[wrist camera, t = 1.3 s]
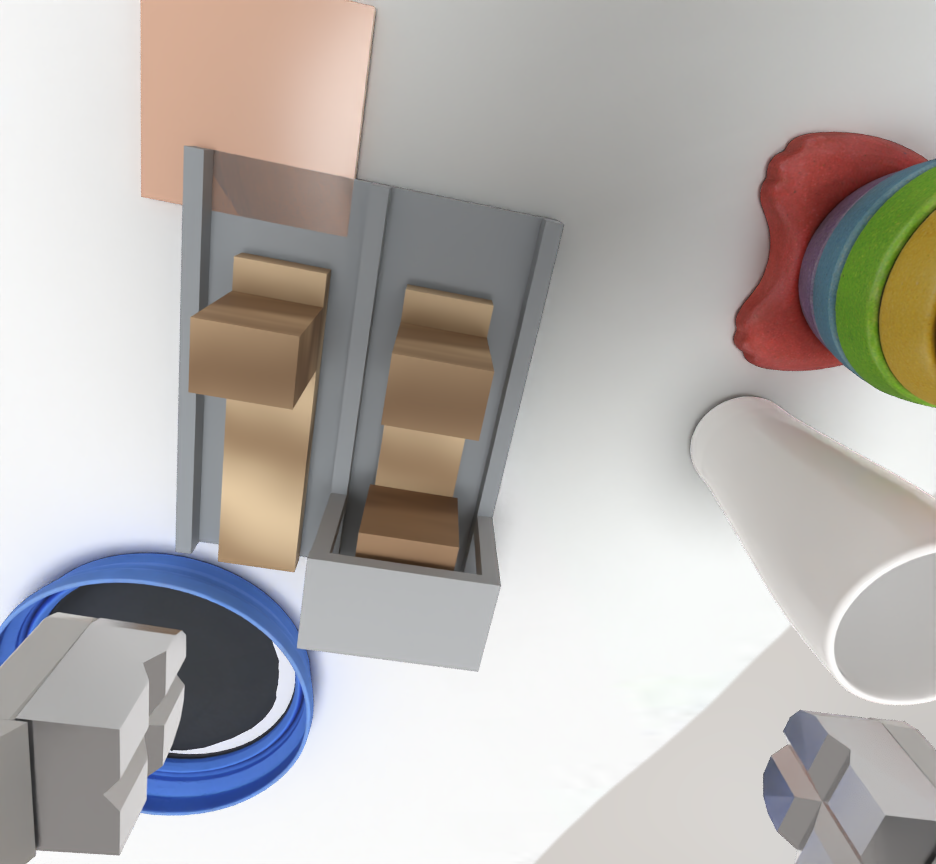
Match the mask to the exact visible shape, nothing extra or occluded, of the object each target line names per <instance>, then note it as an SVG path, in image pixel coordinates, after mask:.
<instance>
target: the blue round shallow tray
mask: <svg viewBox="0 0 936 864" xmlns="http://www.w3.org/2000/svg"><path fill="white" fill-rule="evenodd" d="M57 612H60V613H66V614H73V615H80V616H86V617H93V618H97V619H100V618H105V619H111V620H118V621H124V622H131V623H137V624H144V625H150V626H157V627H164V628H170V629H177V630H182V631H183V632H184V633H185V634H186V658H185V660H184V661H183V663H182V665H181V667H180V669H179V671H178V673H177V676H178V677H179V678H180V680H181V681H182V682H183V684H184V685H185V687H184V702H183V707H182V713H181V719H180V722H179V725H178V729H177V732H176V735H175V738H174V741H173V744H172V747H171V749H170V750H171V751H173V750H191V749H197V748H204V747H208V746H211V745H214V744H216V743H219V742H222V741H225V740H228V739H231V738H233V737H235V736H237V735H239V734H241V733H243V732H245V731H247V730H249V729H251V728H253V727H254V726H255V725H257V724H258V723H259V722H260V721H261V720H263V719H264V718H265V716H266V715H267V714H268V713H269V711H270V710H271V709H272V707H273V705H274V702H275V700H276V690H277V686H278V678H279V670H278V665H279V660H278V657H277V654H276V651H275V648H274V646H273V642H274V643H275V644H276V645H277V646H278V647H279V649H280V650H281V651H282V652H283V654H284V655H285V656H286V658H287V659H288V660H289V662H290V663H291V665H292V667H293V669H294V671H295V688H294V693H293V695H292V698H291V701H290V703H289V705H288V707H287V709H286V711H285V712H284V714H283V715H282V716H281V718H279V719H278V721H277V722H276V723H275V724H274V725H273V726H272V727H271V728H270V729H269V730H267V731H266V732H265V733H263V734H262V735H261V736H259V737H257V738H256V739H254V740H252V741H250V742H248V743H246V744H244V745H241V746H238V747H236V748H232V749H228V750H224V751H220V752H214V753H207V754H177V753H168V755H167V758H166V760H165V762H164V764H163V766H162V767H161V768H159V769H158V770H156V771H155V772H153V773H152V774H151V775H149V776H148V777H147V799H146V802H145V804H144V806H143V808H142V810H141V812H140V813H145V814H151V815H190V814H200V813H206V812H211V811H216V810H220V809H223V808H227V807H230V806H234V805H236V804H238V803H241V802H243V801H245V800H248V799H250V798H252V797H254V796H255V795H257V794H259V793H261V792H262V791H264V790H266V789H267V788H268V787H270V786H271V785H273V784H274V783H275V782H277V781H278V780H279V779H280V778H281V777H282V776H283V775H285V774H286V773H287V771H288V770H289V769H290V768H291V767H292V766H293V765H294V763H295V762H296V760H297V759H298V758H299V756H300V754H301V752H302V750H303V748H304V746H305V743H306V740H307V737H308V734H309V731H310V727H311V723H312V718H313V706H314V702H313V689H312V681H311V673H310V663H309V658H308V654H307V651H306V649H299V648H297V641H298V633H299V632H298V630H297V628H296V627H295V625H294V624H293V622H292V621H291V619H290V618H289V617H288V616H287V614H286V613H285V612H284V611H283V610H282V609H281V608H280V606H279V605H278V604H277V603H276V602H274V601H273V600H272V599H271V598H270V597H269V596H268V595H267V594H265V593H264V592H263V591H261V590H260V589H258V588H257V587H256V586H254V585H253V584H251V583H249V582H248V581H246V580H244V579H243V578H241V577H239V576H237V575H235V574H233V573H231V572H229V571H226V570H224V569H222V568H220V567H217V566H214V565H211V564H208V563H205V562H202V561H199V560H195V559H190V558H186V557H181V556H175V555H168V554H156V553H136V554H124V555H117V556H111V557H107V558H103V559H99V560H95V561H92V562H90V563H87V564H84V565H82V566H80V567H78V568H76V569H74V570H72V571H70V572H68V573H67V574H65V575H64V576H62V577H61V578H59V579H58V580H55V581H53V582H52V583H50V584H48V585H46V586H45V587H43V588H41V589H40V590H38V591H37V592H35V593H34V594H32V595H30V596H29V597H28V598H26V599H25V600H24V601H23V602H22V603H20V604H19V605H18V606H17V607H16V608H15V609H14V610H13V611H12V612H11V613H10V615H9V616H8V617H7V618H6V620H5V621H4V622H3V623H2V625H1V626H0V666H1V665H2V664H3V663H4V662H5V661H6V660H7V659H8V658H9V656H10V655H11V654H12V653H13V652H14V651H15V650H16V649H17V648H18V647H19V646H20V644H21V643H22V642H23V641H24V640H25V639H26V638H27V637H28V636H29V635H30V634H31V632H32V631H33V630H34V629H35V628H36V627H37V626H38V625H39V624H40V623H41V622H42V620H43V619H45V618H46V617H48V616H50V615H52V614H54V613H57ZM272 641H273V642H272Z"/></svg>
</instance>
